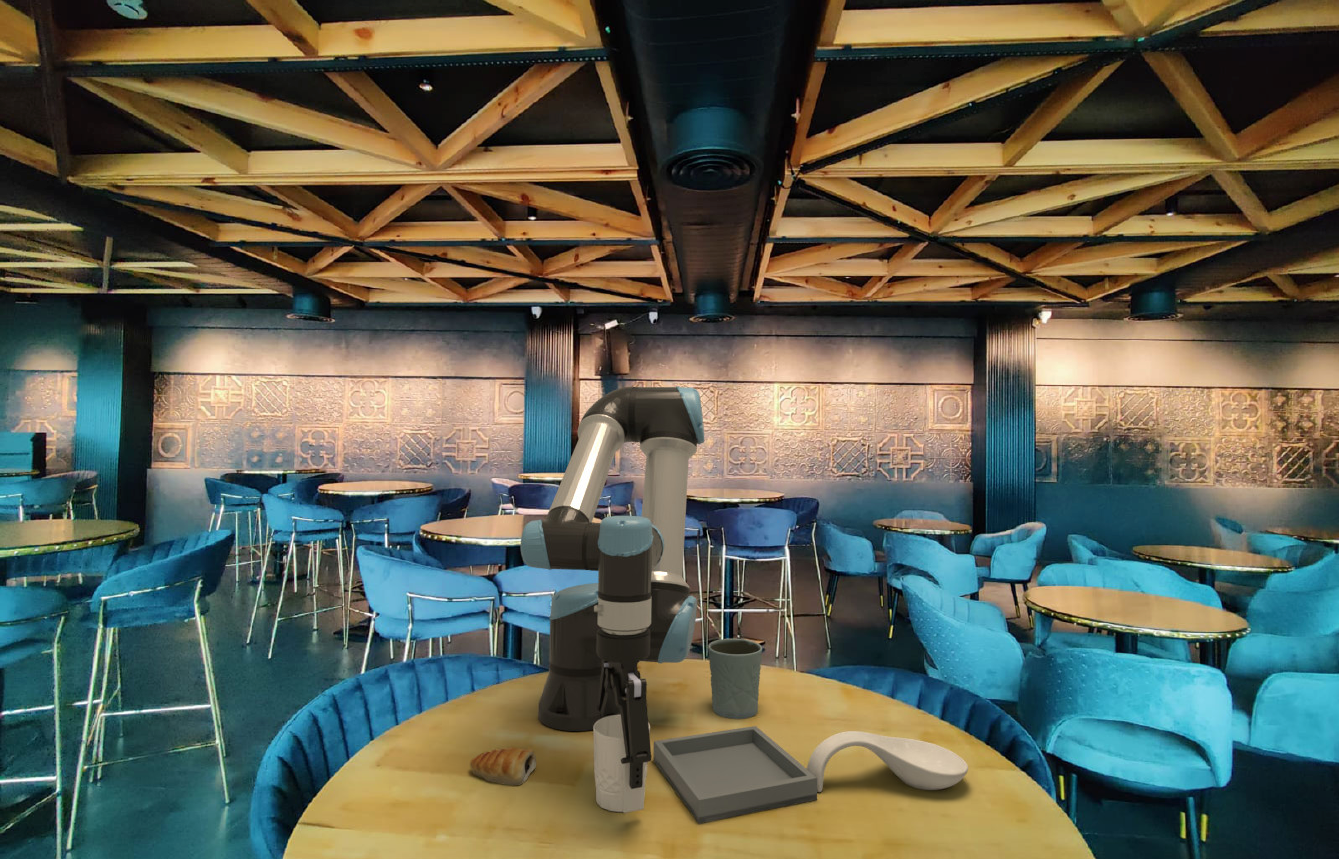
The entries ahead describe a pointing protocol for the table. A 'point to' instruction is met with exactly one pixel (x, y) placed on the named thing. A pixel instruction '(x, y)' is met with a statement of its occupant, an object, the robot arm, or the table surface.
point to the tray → (732, 773)
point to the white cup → (610, 762)
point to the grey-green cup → (735, 677)
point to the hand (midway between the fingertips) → (620, 787)
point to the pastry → (505, 765)
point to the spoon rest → (896, 759)
